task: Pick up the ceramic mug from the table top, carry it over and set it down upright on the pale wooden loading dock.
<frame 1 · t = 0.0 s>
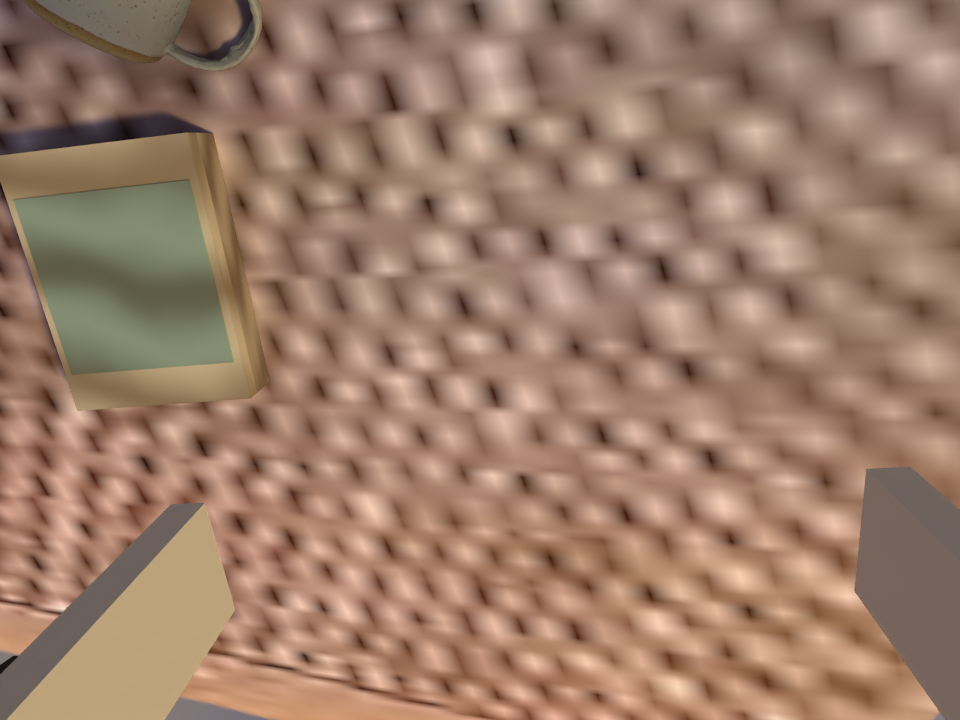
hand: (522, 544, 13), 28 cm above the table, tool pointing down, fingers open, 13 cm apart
dock: (155, 273, 41), on the table
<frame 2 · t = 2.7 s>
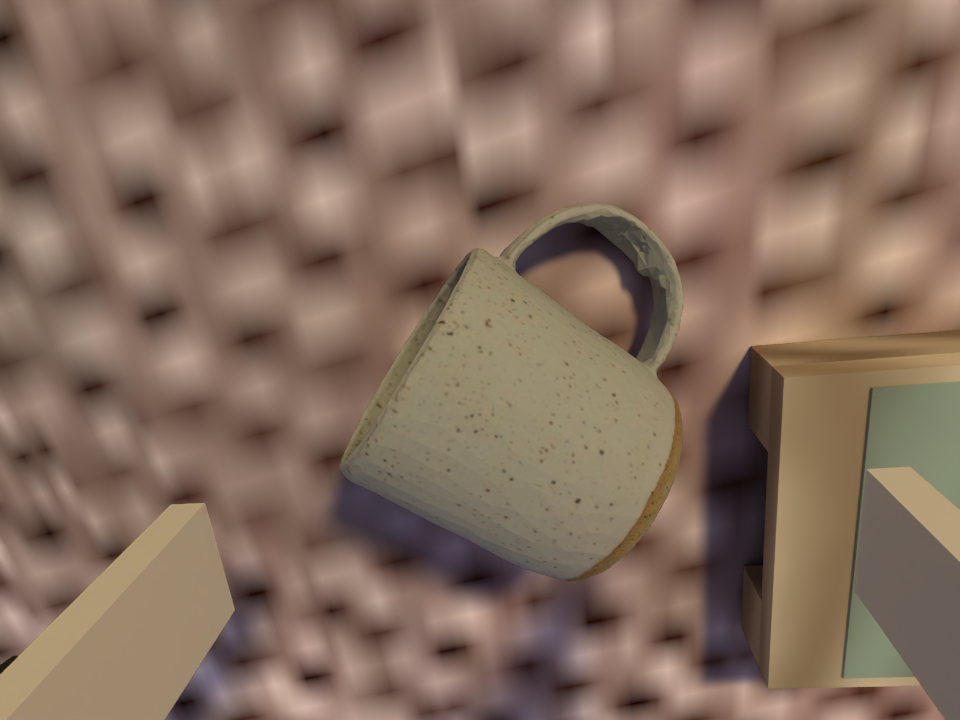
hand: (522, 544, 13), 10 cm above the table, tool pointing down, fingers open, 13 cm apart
ceramic mug: (530, 342, 23), on the table
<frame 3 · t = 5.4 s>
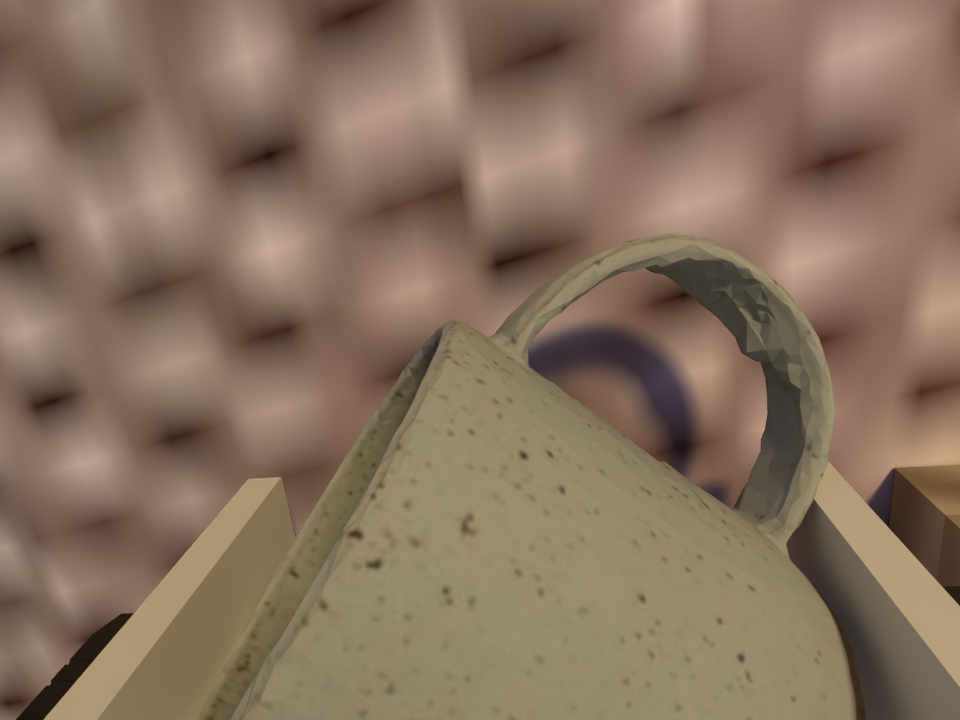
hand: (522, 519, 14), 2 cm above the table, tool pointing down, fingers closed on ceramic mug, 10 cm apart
ceramic mug: (550, 457, 14), point 2 cm above the table, touching gripper
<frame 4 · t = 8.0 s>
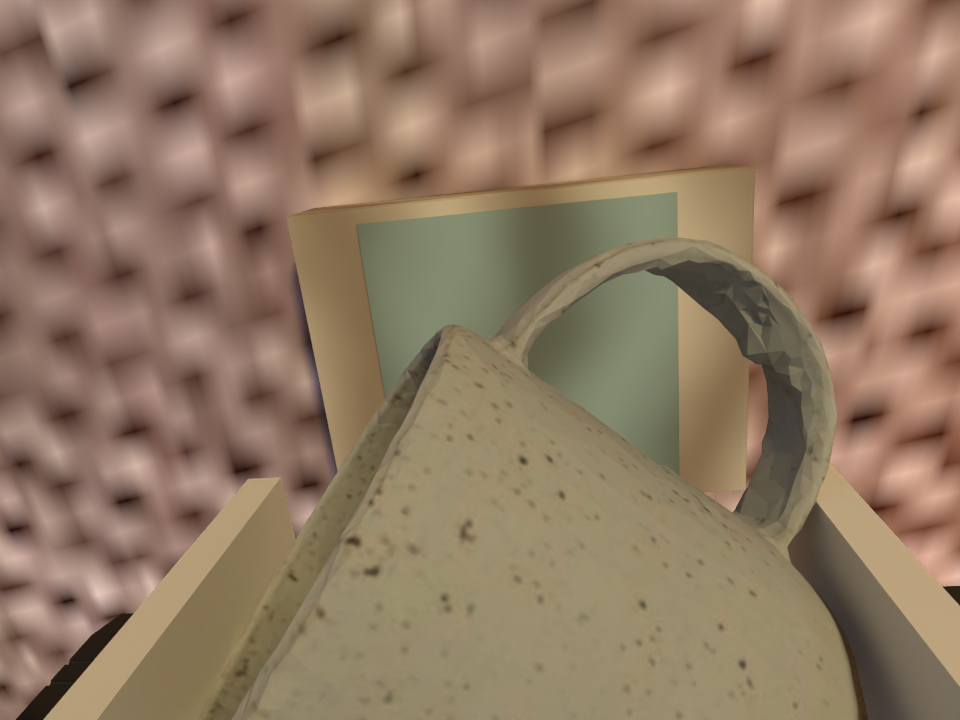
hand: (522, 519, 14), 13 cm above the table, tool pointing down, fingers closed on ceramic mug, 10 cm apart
dock: (526, 335, 26), on the table
ceramic mug: (550, 460, 14), point 13 cm above the table, touching gripper
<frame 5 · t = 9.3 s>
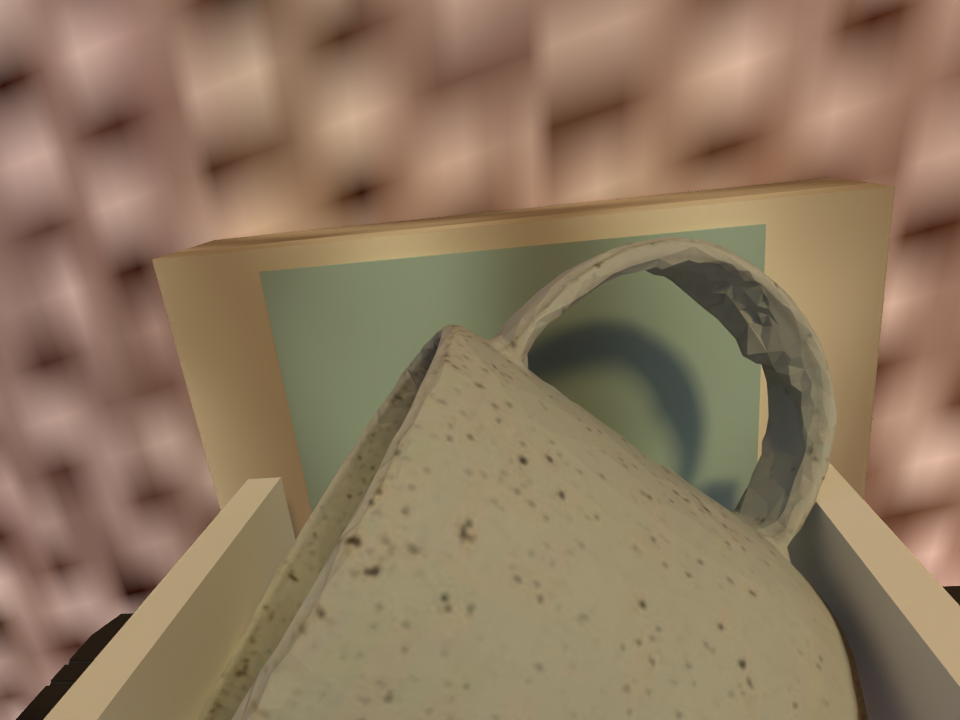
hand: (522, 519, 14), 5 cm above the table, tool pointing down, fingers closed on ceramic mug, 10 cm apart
dock: (524, 421, 18), on the table
ceramic mug: (550, 460, 14), point 5 cm above the table, touching gripper
when the fingers open (4 cm above the table, at t = 10.5 s): ceramic mug stays where it is, resting on dock.
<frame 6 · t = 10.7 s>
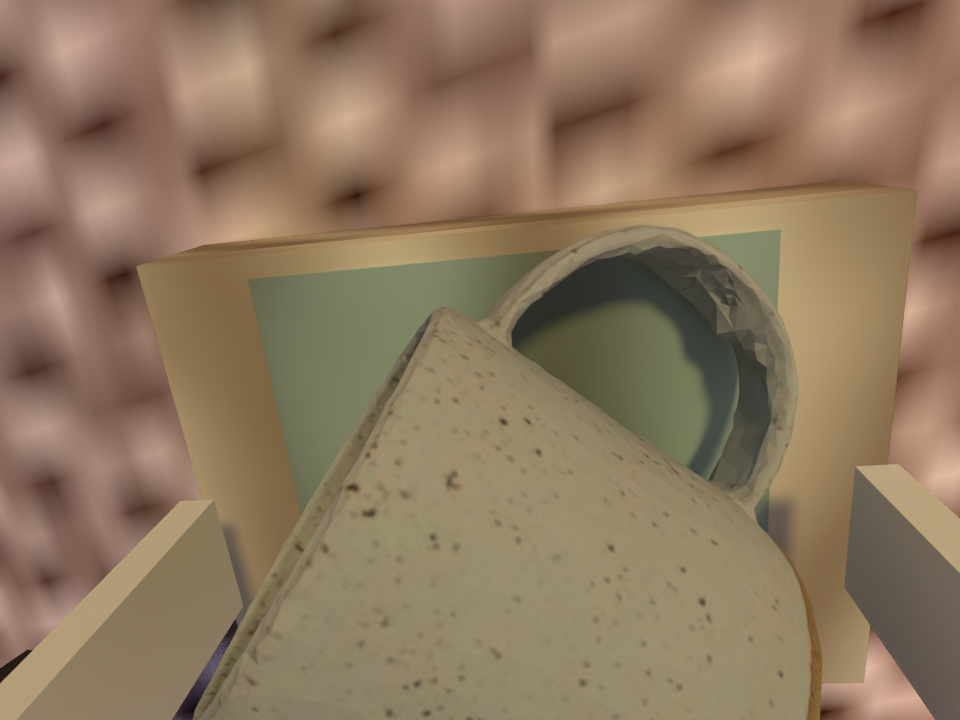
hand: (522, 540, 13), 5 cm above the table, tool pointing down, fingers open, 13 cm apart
dock: (526, 432, 18), on the table
ceramic mug: (539, 438, 15), point 3 cm above the table, touching dock
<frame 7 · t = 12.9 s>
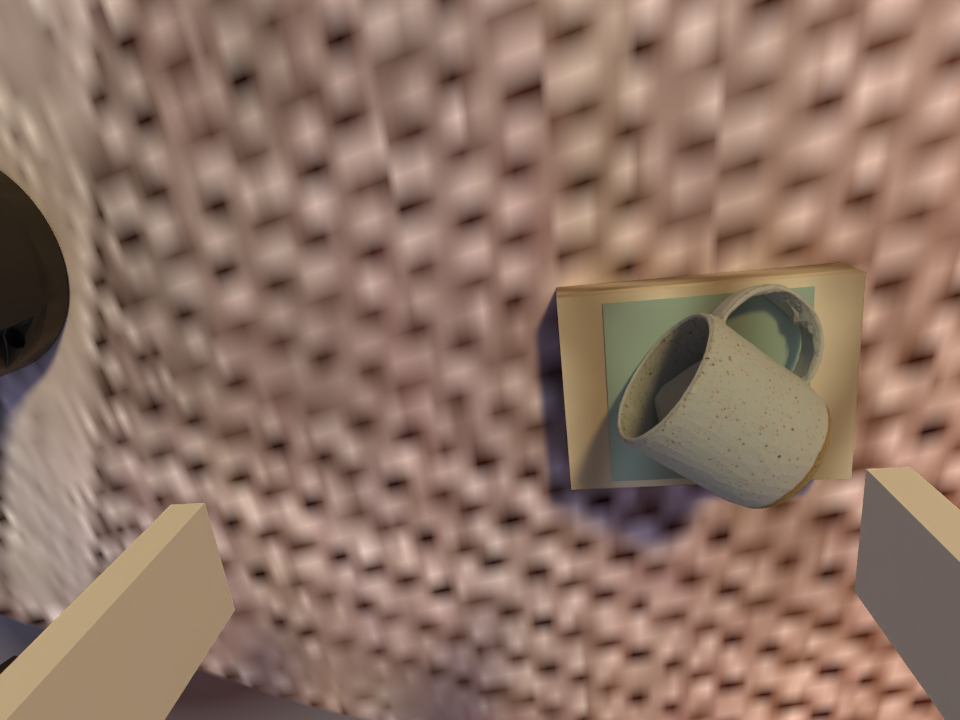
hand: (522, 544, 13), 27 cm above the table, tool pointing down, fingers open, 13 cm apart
dock: (695, 372, 39), on the table
ceramic mug: (716, 366, 35), point 3 cm above the table, touching dock
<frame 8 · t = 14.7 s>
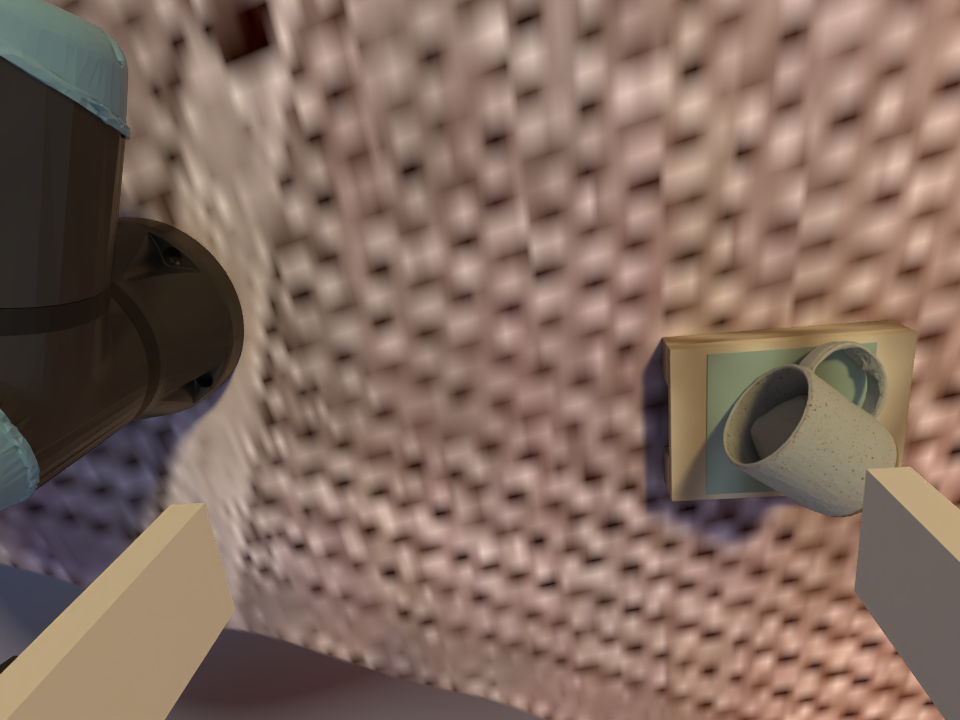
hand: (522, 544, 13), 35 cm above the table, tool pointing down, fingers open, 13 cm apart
dock: (772, 405, 48), on the table
ceramic mug: (797, 402, 44), point 3 cm above the table, touching dock
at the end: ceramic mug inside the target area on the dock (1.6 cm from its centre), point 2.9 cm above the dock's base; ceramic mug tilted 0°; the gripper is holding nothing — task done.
